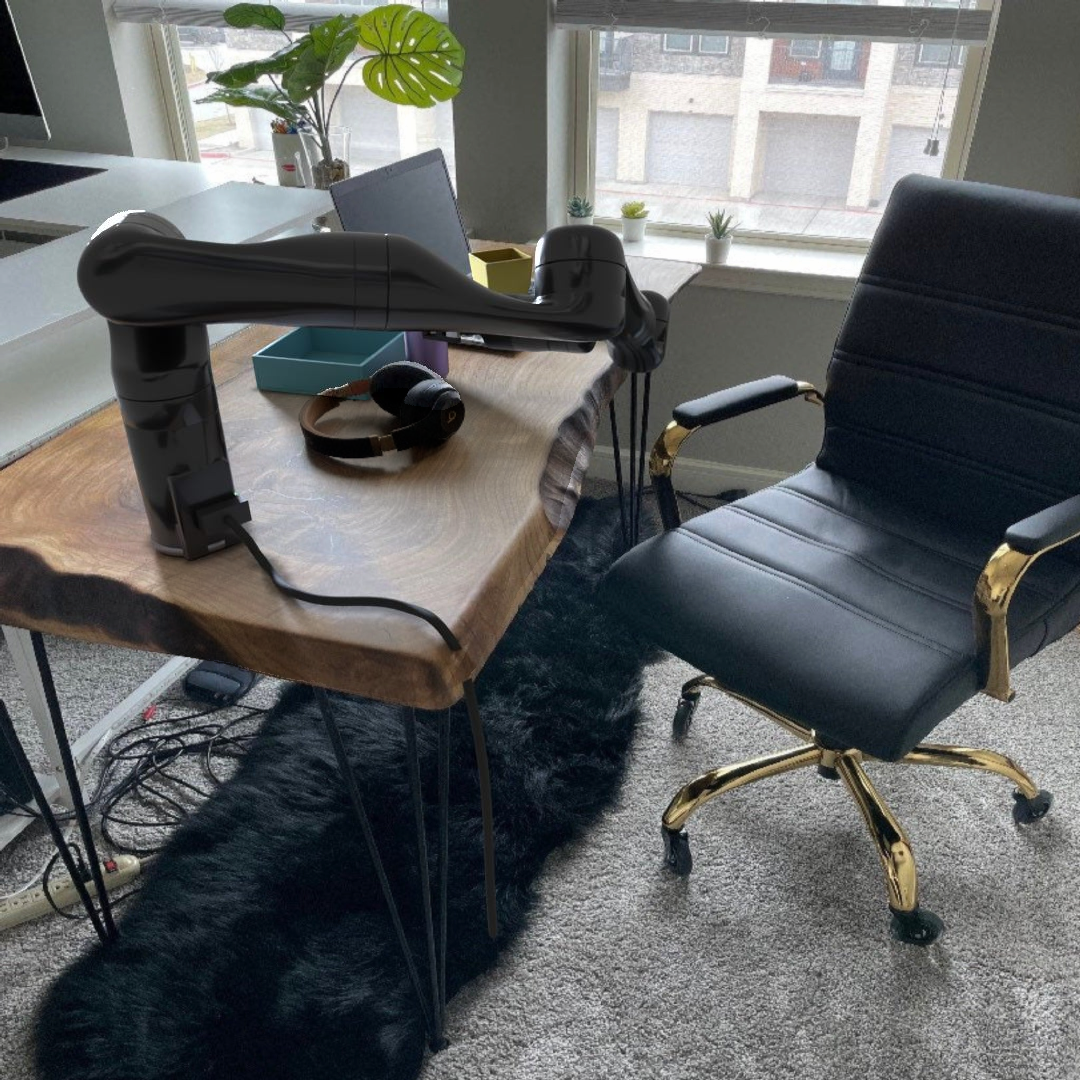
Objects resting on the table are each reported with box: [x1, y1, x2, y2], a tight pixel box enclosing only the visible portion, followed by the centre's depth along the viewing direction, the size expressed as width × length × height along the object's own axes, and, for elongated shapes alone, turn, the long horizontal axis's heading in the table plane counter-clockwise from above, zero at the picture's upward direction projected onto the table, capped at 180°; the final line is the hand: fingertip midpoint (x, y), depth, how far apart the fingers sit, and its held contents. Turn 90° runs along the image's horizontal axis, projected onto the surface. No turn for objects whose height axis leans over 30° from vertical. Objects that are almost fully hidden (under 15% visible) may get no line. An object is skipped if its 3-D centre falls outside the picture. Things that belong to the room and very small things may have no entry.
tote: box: [251, 327, 407, 401], centre depth 146 cm, size 17×16×5 cm
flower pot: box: [468, 246, 534, 295], centre depth 172 cm, size 9×9×9 cm
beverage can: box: [404, 332, 450, 380], centre depth 139 cm, size 6×6×15 cm
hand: (407, 314), depth 139 cm, fingers closed on beverage can, 5 cm apart
